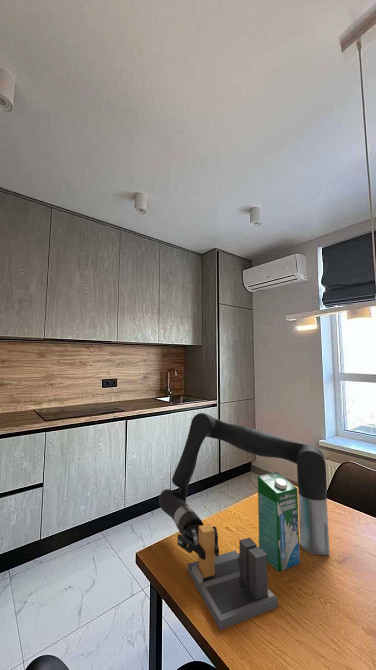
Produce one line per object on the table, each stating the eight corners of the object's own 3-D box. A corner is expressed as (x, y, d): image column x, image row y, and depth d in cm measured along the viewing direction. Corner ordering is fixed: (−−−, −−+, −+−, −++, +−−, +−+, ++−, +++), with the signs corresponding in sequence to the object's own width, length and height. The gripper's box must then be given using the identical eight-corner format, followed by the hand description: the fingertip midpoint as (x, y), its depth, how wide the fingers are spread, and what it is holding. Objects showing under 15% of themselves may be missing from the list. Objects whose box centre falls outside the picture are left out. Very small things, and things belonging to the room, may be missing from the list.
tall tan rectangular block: (209, 566, 82) (209, 523, 84) (214, 574, 79) (214, 530, 81) (198, 569, 81) (198, 526, 82) (203, 578, 78) (203, 532, 79)
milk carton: (279, 572, 84) (276, 485, 87) (258, 554, 92) (257, 475, 95) (300, 563, 88) (297, 480, 91) (279, 546, 96) (277, 471, 99)
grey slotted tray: (235, 556, 90) (235, 517, 92) (277, 607, 72) (276, 557, 73) (187, 570, 84) (187, 528, 85) (220, 630, 65) (220, 574, 67)
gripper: (168, 514, 92) (188, 546, 76) (206, 507, 97) (232, 534, 81) (168, 539, 91) (187, 575, 75) (206, 530, 96) (232, 562, 80)
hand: (210, 554), depth 78 cm, fingers closed on tall tan rectangular block, 3 cm apart
